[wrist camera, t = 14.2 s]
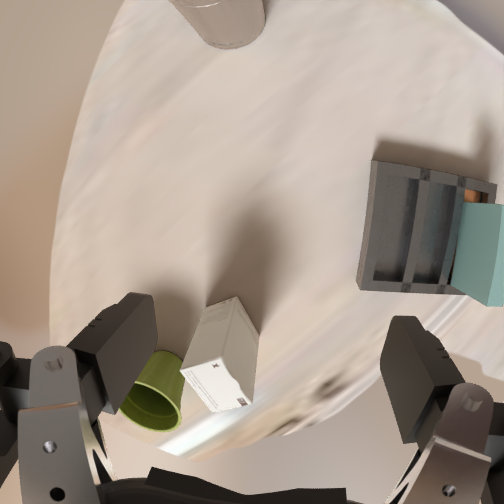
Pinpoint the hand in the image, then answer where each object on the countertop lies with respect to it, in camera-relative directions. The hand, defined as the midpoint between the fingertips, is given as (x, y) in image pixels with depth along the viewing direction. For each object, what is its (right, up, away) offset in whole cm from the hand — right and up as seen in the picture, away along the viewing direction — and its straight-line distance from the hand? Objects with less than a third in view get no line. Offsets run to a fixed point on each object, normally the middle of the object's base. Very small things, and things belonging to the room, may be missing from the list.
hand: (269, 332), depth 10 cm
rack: (+24, +6, +29) cm, 38 cm away
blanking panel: (+30, +4, +27) cm, 41 cm away
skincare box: (-3, -8, +38) cm, 38 cm away
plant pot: (-16, -18, +42) cm, 48 cm away
